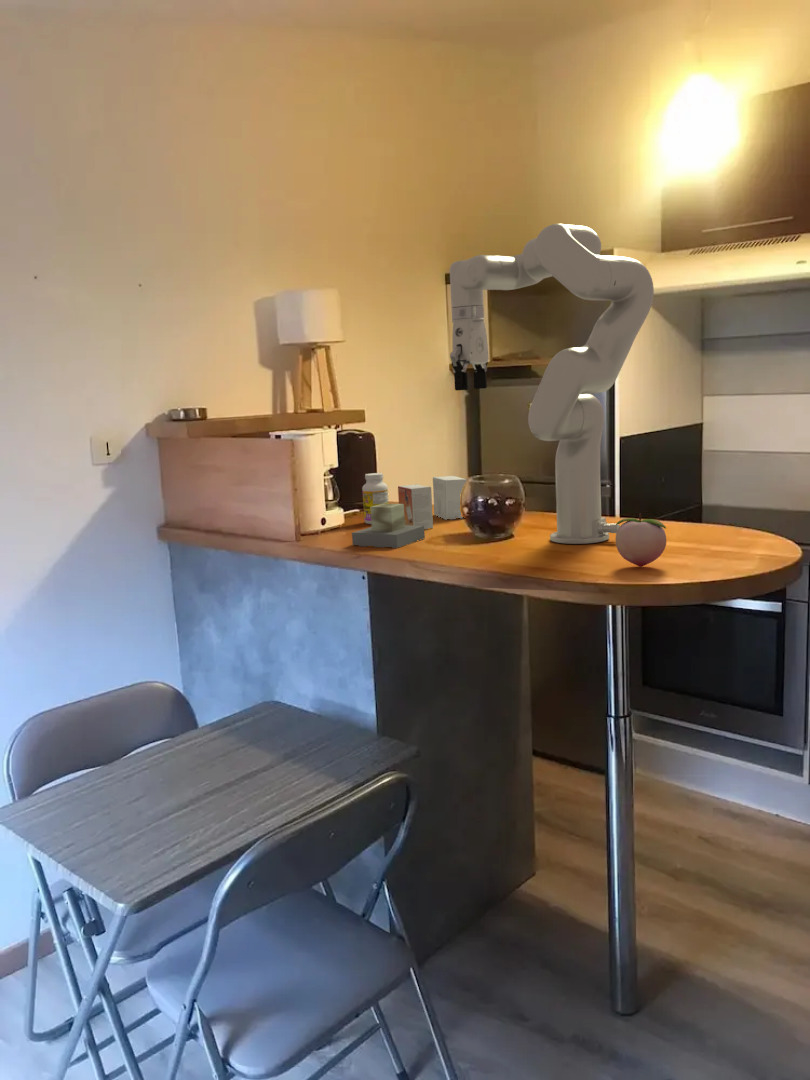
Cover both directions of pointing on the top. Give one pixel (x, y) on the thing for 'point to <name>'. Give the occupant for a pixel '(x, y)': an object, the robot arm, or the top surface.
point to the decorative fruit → (640, 540)
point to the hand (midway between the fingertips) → (471, 389)
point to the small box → (416, 505)
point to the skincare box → (447, 496)
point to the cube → (387, 517)
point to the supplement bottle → (373, 494)
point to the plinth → (388, 537)
